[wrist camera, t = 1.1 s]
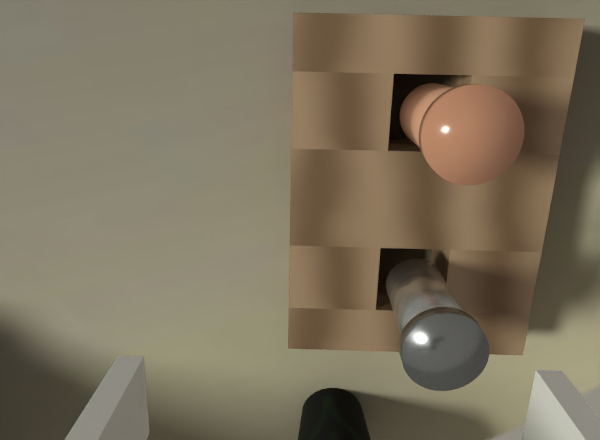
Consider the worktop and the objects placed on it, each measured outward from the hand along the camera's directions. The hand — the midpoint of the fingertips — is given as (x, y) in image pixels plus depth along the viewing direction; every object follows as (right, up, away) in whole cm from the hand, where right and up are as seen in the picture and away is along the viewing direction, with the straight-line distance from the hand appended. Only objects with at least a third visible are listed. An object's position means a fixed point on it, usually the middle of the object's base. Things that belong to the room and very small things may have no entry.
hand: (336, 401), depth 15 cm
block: (+7, +8, +25) cm, 27 cm away
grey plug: (+7, +1, +21) cm, 23 cm away
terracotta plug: (+7, +12, +18) cm, 23 cm away
